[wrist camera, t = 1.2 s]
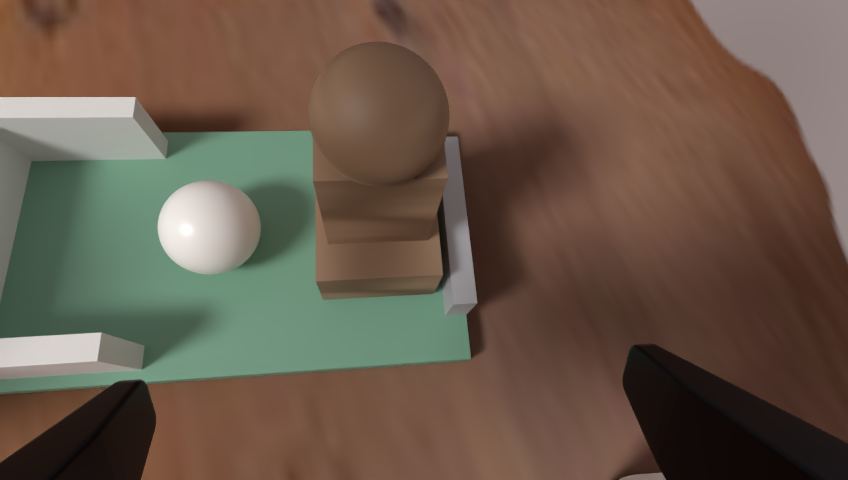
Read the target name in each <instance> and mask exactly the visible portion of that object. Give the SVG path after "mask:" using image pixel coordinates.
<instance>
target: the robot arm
mask: <svg viewBox="0 0 848 480" xmlns="http://www.w3.org/2000/svg"><path fill="white" fill-rule="evenodd" d="M623 387H624V390H625V393H626V395H627V397H628V400H629V402H630V404H631V407H632V409H633V411H634V413H635V416H636V418H637V420H638V423H639V425H640V427H641V429H642V432H643V434H644V436H645V439H646V441H647V443H648V445H649V448H650V450H651V452H652V454H653V456H654V458H655V460H656V462H657V464H658V466H659V468H660V470H661V472H662V474H663V476H664V477H665V479H666V480H848V443H846V442H844V441H842V440H840V439H838V438H836V437H834V436H832V435H831V434H829V433H827V432H825V431H823V430H821V429H819V428H817V427H815V426H813V425H811V424H809V423H807V422H805V421H803V420H801V419H799V418H797V417H795V416H793V415H792V414H790V413H788V412H786V411H784V410H782V409H780V408H778V407H776V406H774V405H772V404H770V403H768V402H766V401H764V400H762V399H760V398H758V397H756V396H754V395H753V394H751V393H749V392H747V391H745V390H743V389H741V388H739V387H737V386H735V385H733V384H731V383H729V382H727V381H725V380H723V379H721V378H719V377H717V376H715V375H714V374H712V373H710V372H708V371H706V370H704V369H702V368H700V367H698V366H696V365H694V364H692V363H690V362H688V361H686V360H684V359H682V358H680V357H678V356H676V355H675V354H673V353H671V352H669V351H667V350H665V349H663V348H661V347H659V346H657V345H655V344H638V345H634V346H632V347H631V348H630V350H629V354H628V358H627V362H626V366H625V370H624V374H623ZM155 426H156V414H155V410H154V407H153V403H152V400H151V396H150V393H149V390H148V386H147V384H146V383H145V381H143V380H141V379H135V380H122V381H117V382H115V383H114V384H112V385H111V386H109V387H108V388H106V389H105V390H103V391H102V392H101V393H99V394H98V395H96V396H95V397H93V398H92V399H91V400H89V401H88V402H86V403H85V404H83V405H82V406H81V407H79V408H78V409H76V410H75V411H73V412H72V413H71V414H69V415H68V416H66V417H65V418H63V419H62V420H61V421H59V422H58V423H56V424H55V425H53V426H52V427H51V428H49V429H48V430H46V431H45V432H43V433H42V434H41V435H39V436H38V437H36V438H35V439H33V440H32V441H30V442H29V443H28V444H26V445H25V446H23V447H22V448H20V449H19V450H18V451H16V452H15V453H13V454H12V455H10V456H9V457H8V458H6V459H5V460H3V461H2V462H0V480H141V477H142V473H143V470H144V466H145V463H146V459H147V455H148V452H149V448H150V445H151V441H152V438H153V434H154V431H155Z"/></svg>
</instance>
